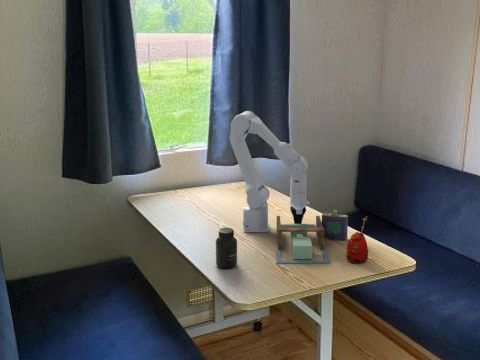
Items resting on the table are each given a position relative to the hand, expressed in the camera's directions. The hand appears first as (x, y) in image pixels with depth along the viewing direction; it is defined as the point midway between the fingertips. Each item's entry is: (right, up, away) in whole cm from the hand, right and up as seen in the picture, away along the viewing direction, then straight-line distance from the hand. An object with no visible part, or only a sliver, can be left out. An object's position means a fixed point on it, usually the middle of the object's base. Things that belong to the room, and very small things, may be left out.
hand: (297, 226), depth 196 cm
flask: (+12, -4, -5) cm, 14 cm away
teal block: (0, -6, -13) cm, 14 cm away
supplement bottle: (-25, -11, -25) cm, 37 cm away
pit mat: (0, -1, +5) cm, 5 cm away
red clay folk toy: (+17, -9, -23) cm, 30 cm away
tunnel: (0, -5, -7) cm, 8 cm away
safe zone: (-1, -8, -19) cm, 21 cm away
